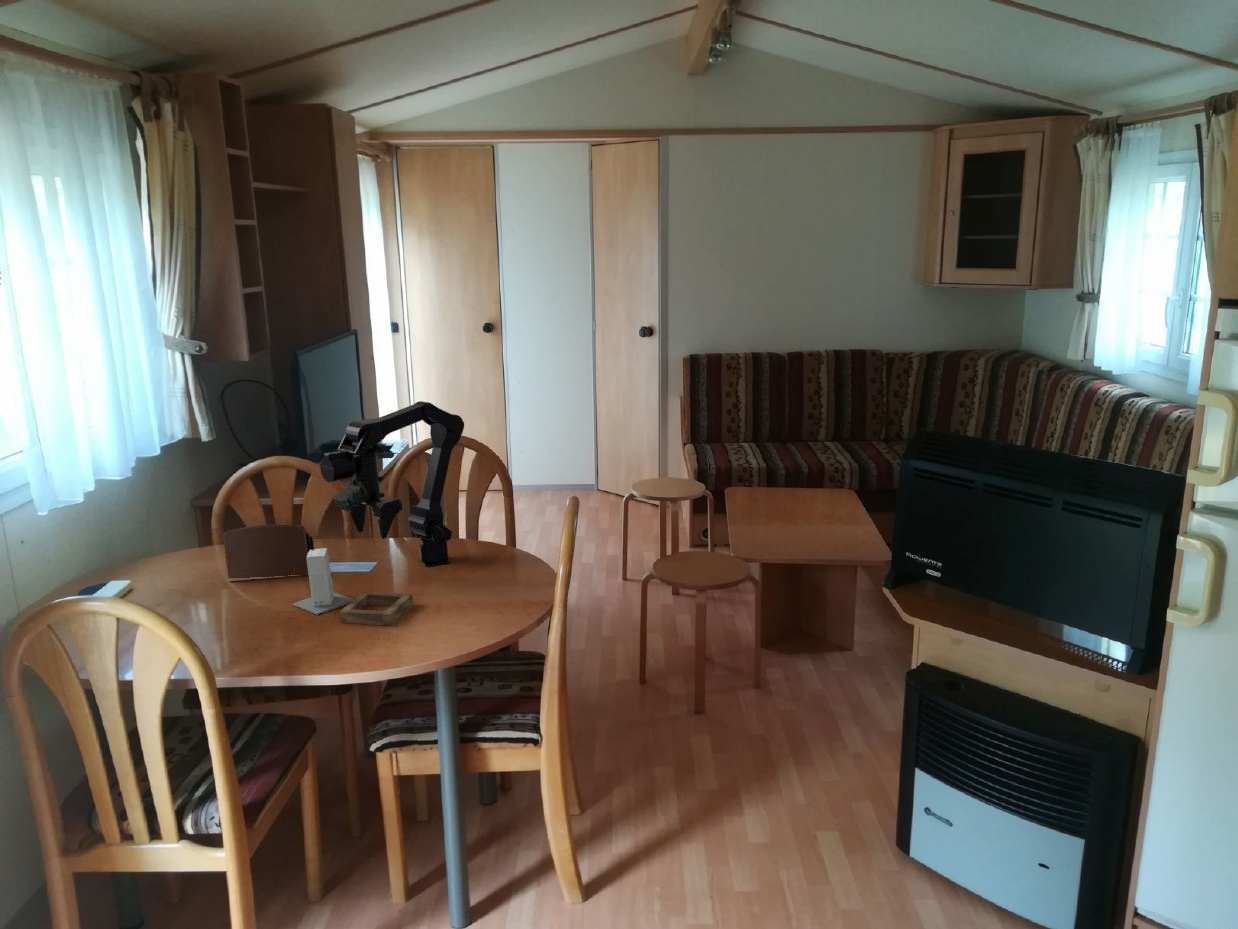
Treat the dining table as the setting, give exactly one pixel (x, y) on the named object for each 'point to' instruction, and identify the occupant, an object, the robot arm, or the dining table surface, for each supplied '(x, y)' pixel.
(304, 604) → the grey mat
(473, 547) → the dining table surface
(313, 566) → the skincare box
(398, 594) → the walnut collar
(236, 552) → the letter holder
